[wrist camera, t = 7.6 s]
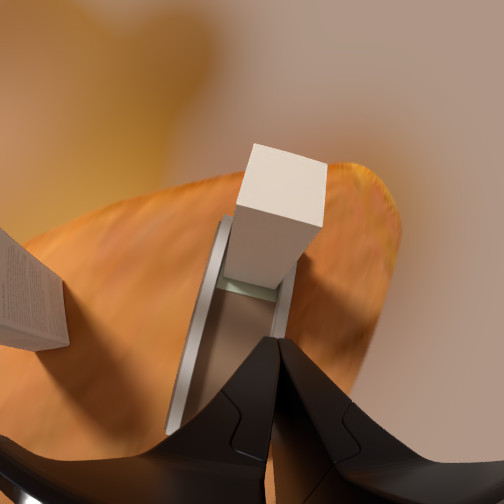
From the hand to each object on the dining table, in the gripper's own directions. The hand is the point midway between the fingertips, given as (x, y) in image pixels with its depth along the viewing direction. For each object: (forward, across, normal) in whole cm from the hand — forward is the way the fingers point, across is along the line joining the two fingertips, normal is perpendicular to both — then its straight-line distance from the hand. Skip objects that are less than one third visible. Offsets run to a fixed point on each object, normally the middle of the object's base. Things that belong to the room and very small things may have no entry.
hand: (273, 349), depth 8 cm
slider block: (+14, +1, +2) cm, 14 cm away
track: (+12, +1, +7) cm, 14 cm away
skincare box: (+9, +17, +8) cm, 21 cm away
